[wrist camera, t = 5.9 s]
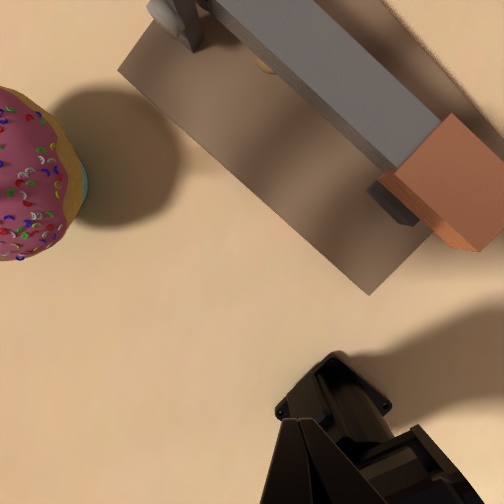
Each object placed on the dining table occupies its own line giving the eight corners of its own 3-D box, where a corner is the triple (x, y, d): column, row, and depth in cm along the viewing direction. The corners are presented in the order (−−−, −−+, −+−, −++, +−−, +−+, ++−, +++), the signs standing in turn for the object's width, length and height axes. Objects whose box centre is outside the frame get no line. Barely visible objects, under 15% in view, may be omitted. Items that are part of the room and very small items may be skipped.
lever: (497, 197, 14) (542, 194, 12) (447, 246, 15) (482, 252, 12) (210, -71, 13) (198, -133, 11) (167, -12, 14) (146, -58, 11)
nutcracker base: (492, 154, 19) (620, 134, 12) (360, 288, 20) (412, 332, 14) (260, -102, 16) (270, -302, 9) (128, 80, 17) (59, 16, 11)
